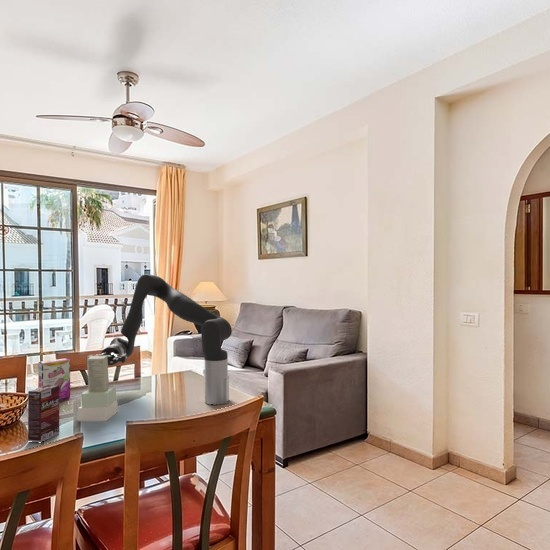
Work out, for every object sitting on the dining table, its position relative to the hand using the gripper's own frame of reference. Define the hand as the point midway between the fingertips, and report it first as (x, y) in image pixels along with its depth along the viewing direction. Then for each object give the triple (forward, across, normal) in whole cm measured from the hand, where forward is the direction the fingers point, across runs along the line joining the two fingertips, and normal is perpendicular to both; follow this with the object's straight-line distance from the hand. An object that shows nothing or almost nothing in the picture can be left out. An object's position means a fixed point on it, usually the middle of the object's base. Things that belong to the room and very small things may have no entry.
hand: (102, 362), depth 158 cm
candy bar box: (-19, -24, +19) cm, 36 cm away
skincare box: (+5, 0, +9) cm, 10 cm away
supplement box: (+24, -11, +19) cm, 32 cm away
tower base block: (+5, 0, +19) cm, 20 cm away
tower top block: (+5, 0, +14) cm, 15 cm away
